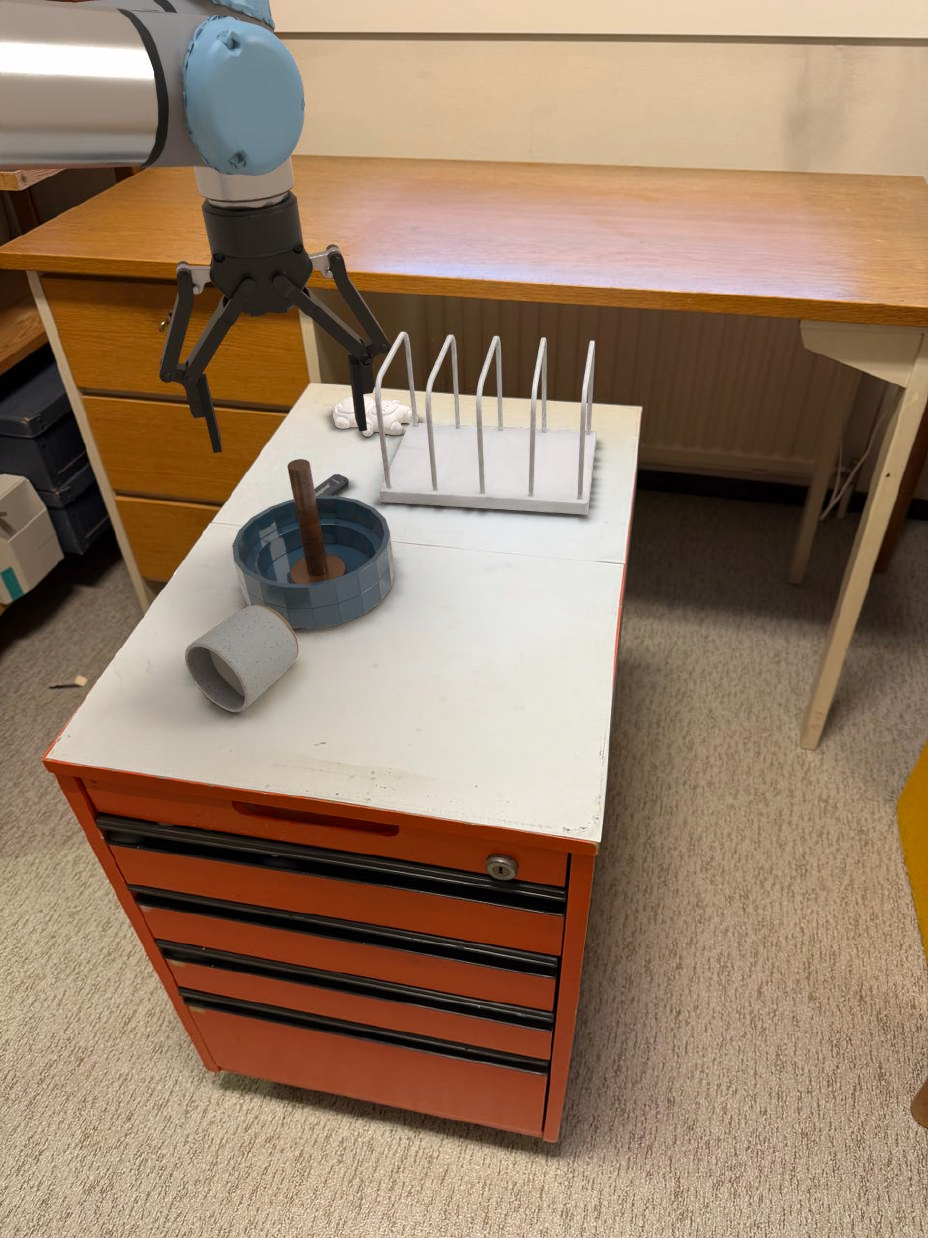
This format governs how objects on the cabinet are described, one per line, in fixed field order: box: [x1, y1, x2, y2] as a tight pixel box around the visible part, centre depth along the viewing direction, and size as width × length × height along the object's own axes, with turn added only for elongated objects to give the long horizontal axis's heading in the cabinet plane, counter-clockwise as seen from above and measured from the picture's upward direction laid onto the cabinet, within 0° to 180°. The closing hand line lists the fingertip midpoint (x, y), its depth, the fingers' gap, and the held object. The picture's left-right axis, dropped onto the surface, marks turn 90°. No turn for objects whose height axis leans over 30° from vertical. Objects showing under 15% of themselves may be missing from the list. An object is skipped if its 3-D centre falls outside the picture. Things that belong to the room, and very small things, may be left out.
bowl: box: [231, 495, 395, 630], centre depth 94 cm, size 16×16×6 cm
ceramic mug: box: [184, 604, 300, 713], centre depth 82 cm, size 11×8×8 cm
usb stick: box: [314, 473, 350, 496], centre depth 107 cm, size 10×3×2 cm, turn 147°
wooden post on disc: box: [286, 458, 347, 584], centre depth 91 cm, size 6×6×14 cm
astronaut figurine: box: [332, 395, 419, 438], centre depth 122 cm, size 9×12×3 cm
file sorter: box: [374, 331, 597, 515], centre depth 106 cm, size 25×17×16 cm
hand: (290, 435), depth 83 cm, fingers open, 13 cm apart
